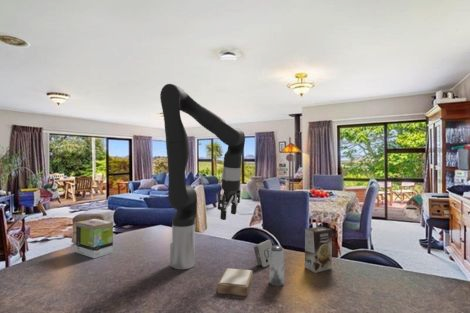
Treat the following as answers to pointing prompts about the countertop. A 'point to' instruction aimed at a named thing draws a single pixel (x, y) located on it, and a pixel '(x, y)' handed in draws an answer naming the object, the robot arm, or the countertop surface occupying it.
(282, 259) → the cylinder
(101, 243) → the tea box
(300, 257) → the countertop surface
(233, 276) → the plinth
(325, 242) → the coffee box
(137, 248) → the countertop surface
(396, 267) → the countertop surface
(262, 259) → the electrical switch
